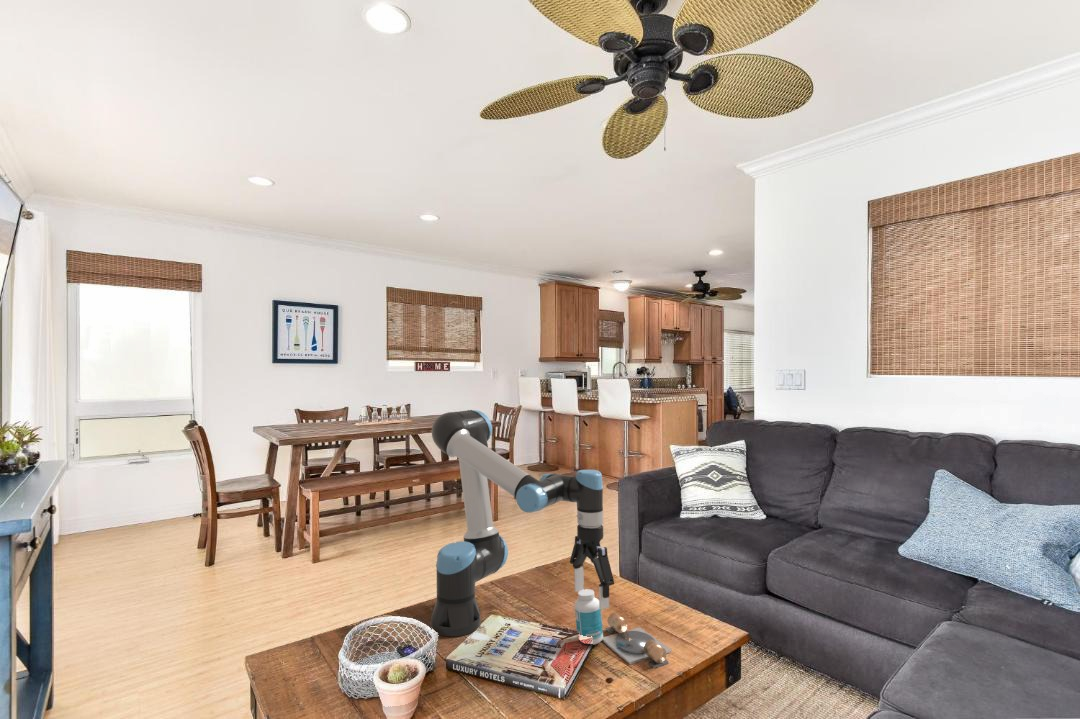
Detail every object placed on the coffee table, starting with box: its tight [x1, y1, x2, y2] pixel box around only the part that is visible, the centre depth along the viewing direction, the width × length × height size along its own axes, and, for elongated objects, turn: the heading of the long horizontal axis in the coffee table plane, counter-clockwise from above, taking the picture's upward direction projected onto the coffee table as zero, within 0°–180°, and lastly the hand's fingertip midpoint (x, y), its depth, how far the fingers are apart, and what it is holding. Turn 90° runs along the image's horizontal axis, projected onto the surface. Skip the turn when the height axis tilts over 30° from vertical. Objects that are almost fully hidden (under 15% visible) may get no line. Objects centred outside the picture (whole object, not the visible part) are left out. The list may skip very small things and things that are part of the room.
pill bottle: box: [574, 588, 604, 646], centre depth 150 cm, size 8×7×14 cm
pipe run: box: [601, 612, 672, 669], centre depth 147 cm, size 22×14×5 cm, turn 26°
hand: (591, 599), depth 150 cm, fingers open, 13 cm apart
